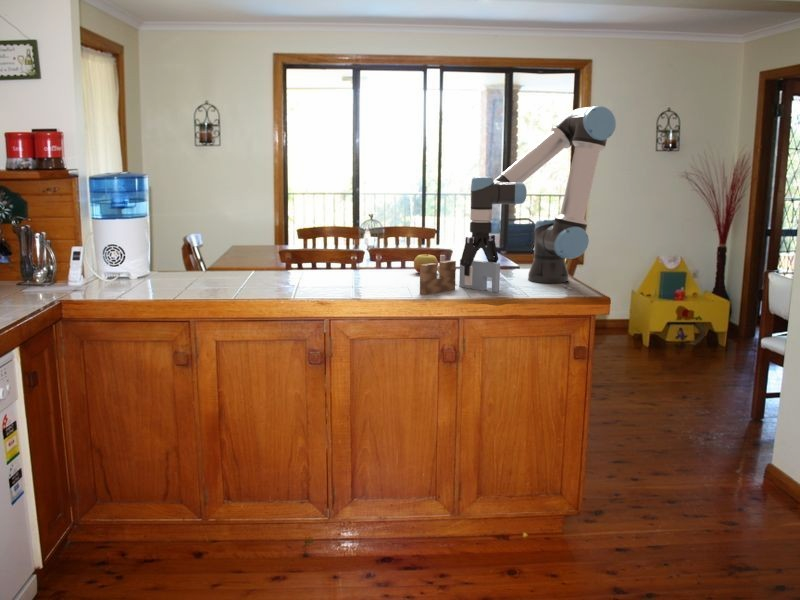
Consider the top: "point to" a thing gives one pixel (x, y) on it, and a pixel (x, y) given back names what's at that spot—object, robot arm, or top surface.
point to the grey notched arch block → (482, 275)
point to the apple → (424, 261)
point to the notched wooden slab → (434, 283)
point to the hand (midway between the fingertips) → (479, 282)
